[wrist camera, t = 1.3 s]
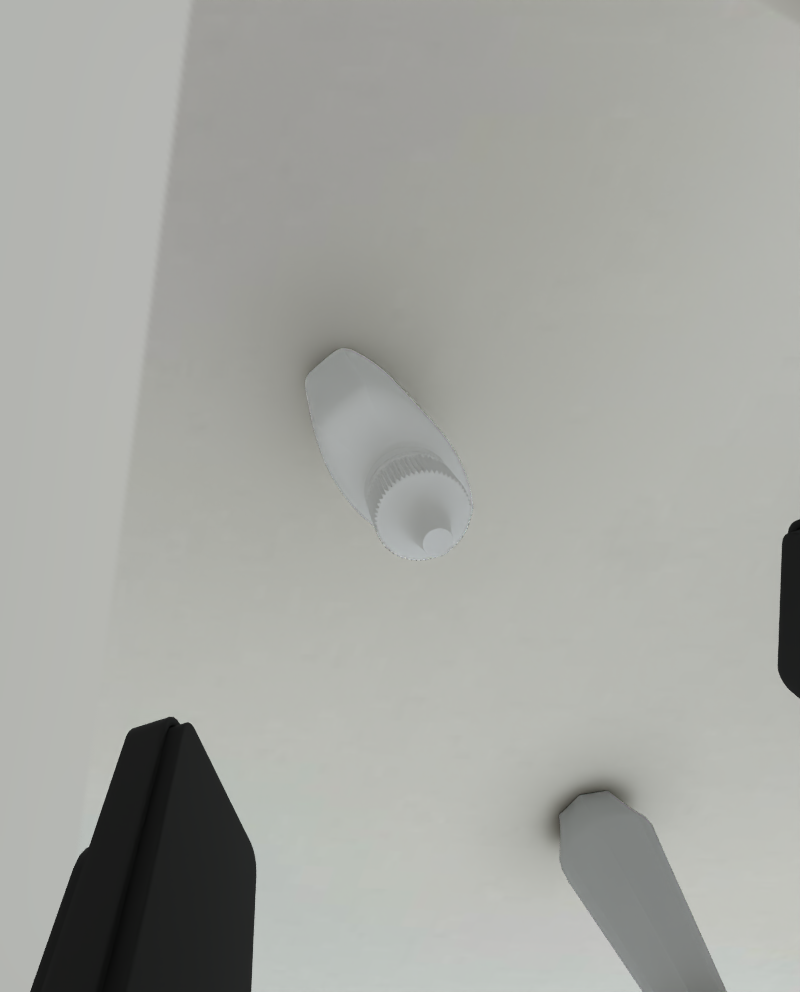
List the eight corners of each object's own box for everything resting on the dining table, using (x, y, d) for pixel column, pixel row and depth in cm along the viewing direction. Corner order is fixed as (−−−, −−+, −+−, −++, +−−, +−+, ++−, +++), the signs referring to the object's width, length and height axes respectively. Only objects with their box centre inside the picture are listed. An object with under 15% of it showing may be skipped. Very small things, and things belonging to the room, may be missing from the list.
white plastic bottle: (327, 487, 25) (363, 667, 14) (297, 353, 22) (313, 442, 11) (427, 465, 25) (539, 623, 14) (408, 333, 23) (522, 399, 12)
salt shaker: (642, 822, 37) (814, 1089, 25) (561, 863, 37) (694, 1149, 25) (619, 765, 34) (796, 1029, 23) (532, 808, 34) (664, 1096, 23)
